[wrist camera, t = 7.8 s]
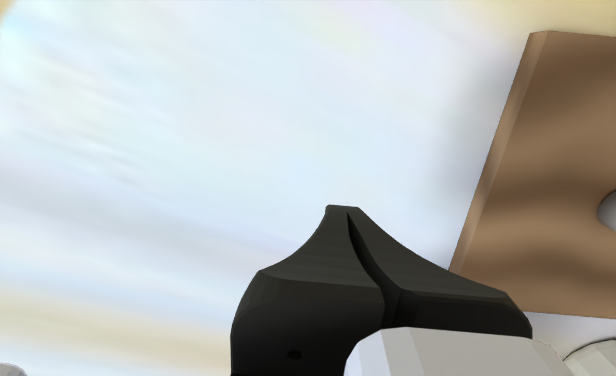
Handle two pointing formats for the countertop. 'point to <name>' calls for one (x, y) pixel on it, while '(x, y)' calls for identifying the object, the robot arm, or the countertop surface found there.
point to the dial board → (550, 183)
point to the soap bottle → (594, 360)
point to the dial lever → (608, 212)
